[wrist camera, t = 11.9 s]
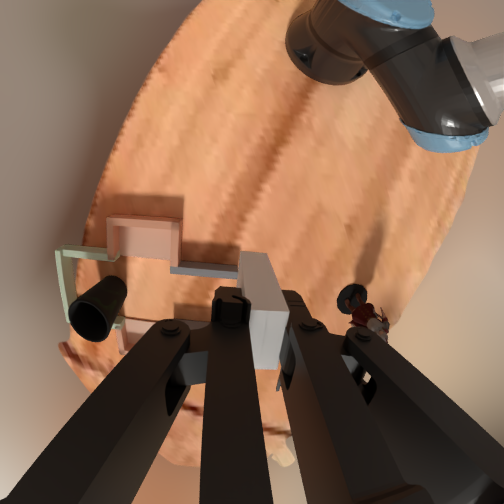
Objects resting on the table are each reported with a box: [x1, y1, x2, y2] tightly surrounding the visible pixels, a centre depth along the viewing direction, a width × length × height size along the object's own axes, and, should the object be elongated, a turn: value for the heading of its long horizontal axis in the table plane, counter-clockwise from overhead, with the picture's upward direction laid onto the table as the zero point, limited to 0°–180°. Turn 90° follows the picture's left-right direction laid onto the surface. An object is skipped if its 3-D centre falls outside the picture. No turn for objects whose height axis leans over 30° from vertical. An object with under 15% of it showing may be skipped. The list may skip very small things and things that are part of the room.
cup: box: [68, 276, 127, 342], centre depth 41 cm, size 8×8×12 cm
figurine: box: [337, 284, 390, 343], centre depth 44 cm, size 7×7×15 cm
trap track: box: [55, 214, 238, 355], centre depth 45 cm, size 33×28×4 cm
